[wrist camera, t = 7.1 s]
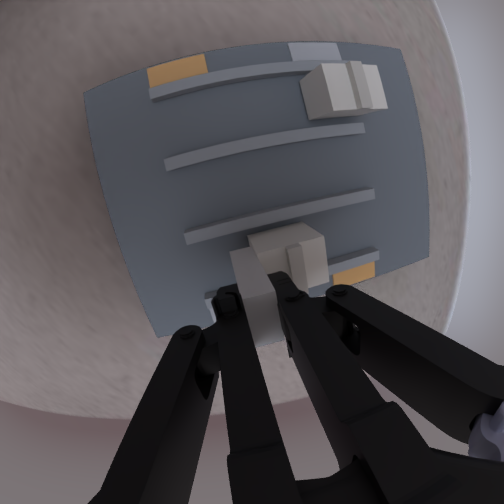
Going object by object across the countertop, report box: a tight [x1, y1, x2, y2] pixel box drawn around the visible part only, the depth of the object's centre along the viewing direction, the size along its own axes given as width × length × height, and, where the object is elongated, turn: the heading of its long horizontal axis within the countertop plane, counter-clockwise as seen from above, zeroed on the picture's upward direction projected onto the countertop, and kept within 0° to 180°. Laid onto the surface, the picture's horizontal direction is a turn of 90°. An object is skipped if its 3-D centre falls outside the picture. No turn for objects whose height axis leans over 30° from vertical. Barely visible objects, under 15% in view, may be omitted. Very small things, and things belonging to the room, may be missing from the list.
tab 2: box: [299, 61, 388, 120], centre depth 14 cm, size 4×3×5 cm
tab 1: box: [247, 222, 329, 294], centre depth 17 cm, size 4×3×5 cm
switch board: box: [83, 41, 429, 338], centre depth 19 cm, size 26×20×3 cm
